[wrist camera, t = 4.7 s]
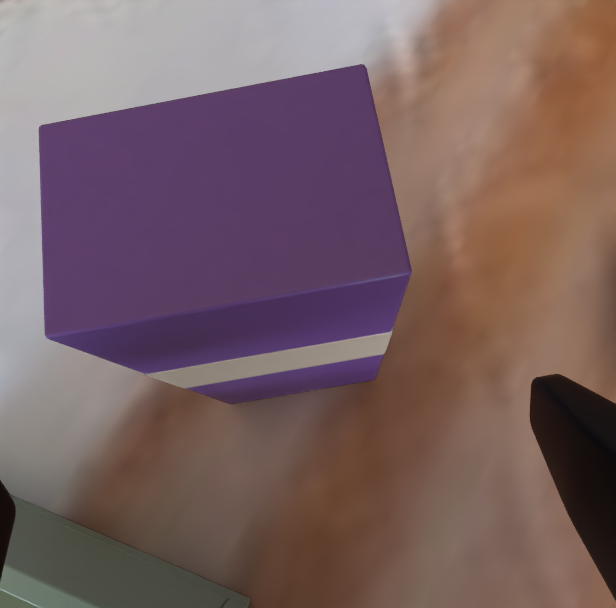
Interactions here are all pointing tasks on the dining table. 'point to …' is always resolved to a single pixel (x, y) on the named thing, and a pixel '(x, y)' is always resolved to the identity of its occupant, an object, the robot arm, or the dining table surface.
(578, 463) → the robot arm
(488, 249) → the dining table surface
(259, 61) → the dining table surface
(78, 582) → the bin
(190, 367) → the purple tall block
